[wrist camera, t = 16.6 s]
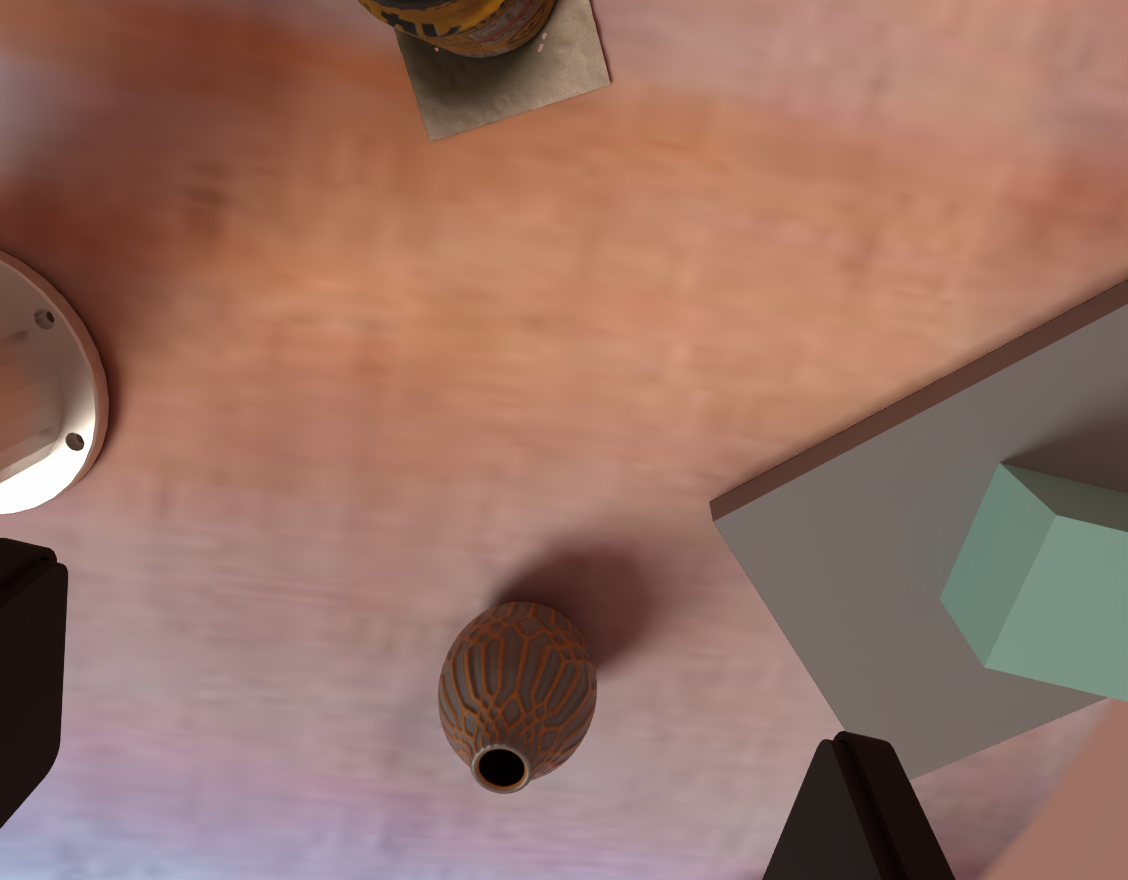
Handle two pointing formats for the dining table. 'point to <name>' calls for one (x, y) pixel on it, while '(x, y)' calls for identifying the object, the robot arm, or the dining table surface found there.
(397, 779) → the dining table surface
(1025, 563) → the seafoam cuboid
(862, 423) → the post base
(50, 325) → the robot arm
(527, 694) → the vase
